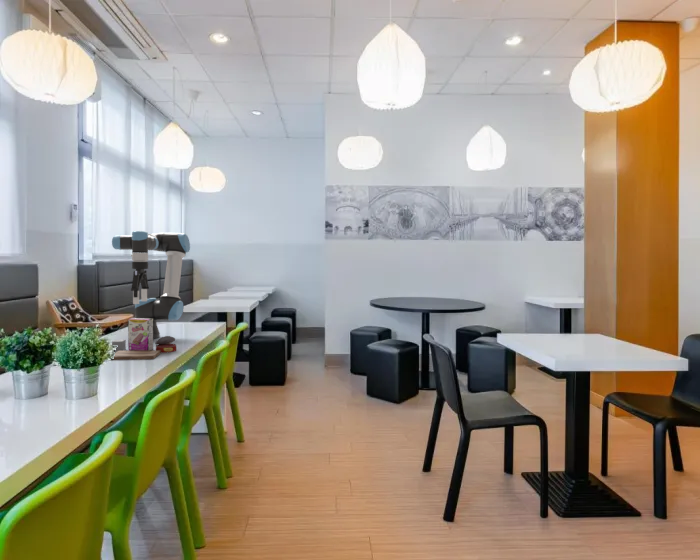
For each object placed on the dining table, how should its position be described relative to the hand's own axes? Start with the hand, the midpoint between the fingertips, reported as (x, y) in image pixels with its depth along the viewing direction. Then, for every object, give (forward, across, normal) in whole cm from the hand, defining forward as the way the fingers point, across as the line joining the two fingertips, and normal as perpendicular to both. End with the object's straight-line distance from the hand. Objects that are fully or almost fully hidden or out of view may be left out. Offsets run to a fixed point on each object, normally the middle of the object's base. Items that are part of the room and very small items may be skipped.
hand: (140, 302), depth 242 cm
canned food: (+25, +2, +13) cm, 28 cm away
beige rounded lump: (+25, -7, +11) cm, 28 cm away
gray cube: (+25, -1, -11) cm, 27 cm away
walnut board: (+25, +15, +2) cm, 29 cm away
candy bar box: (+25, 0, 0) cm, 25 cm away
